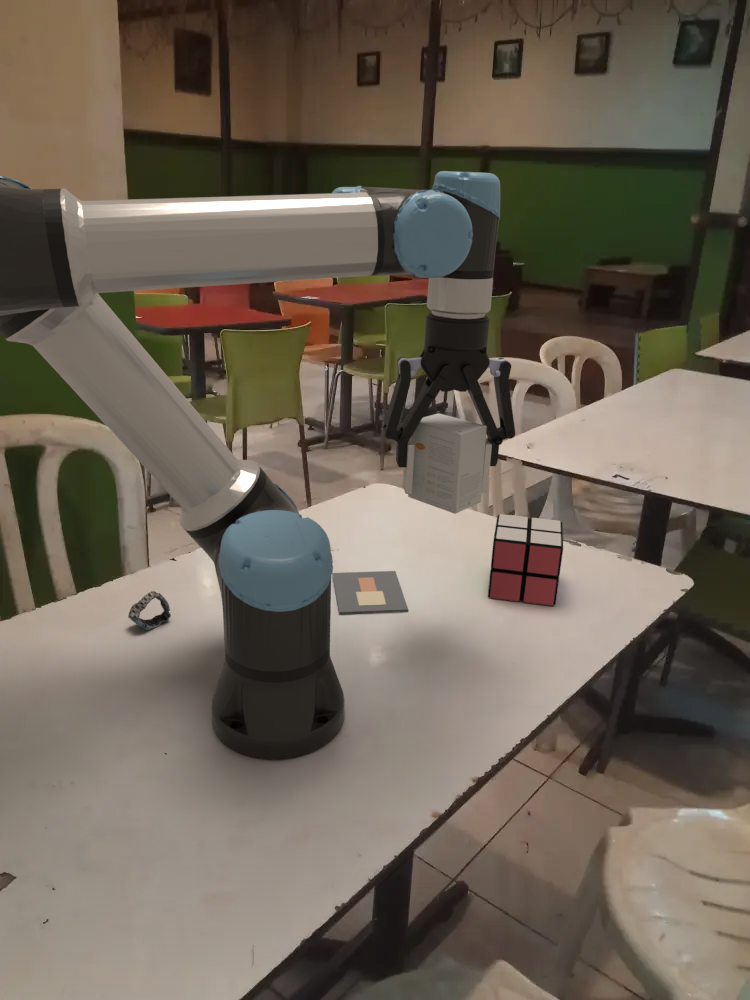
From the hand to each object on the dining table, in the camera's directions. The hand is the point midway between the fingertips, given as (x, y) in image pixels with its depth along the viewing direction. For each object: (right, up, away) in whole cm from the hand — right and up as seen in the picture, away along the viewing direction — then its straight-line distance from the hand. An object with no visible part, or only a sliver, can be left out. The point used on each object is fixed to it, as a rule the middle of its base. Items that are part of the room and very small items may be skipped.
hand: (444, 489), depth 101 cm
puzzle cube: (+14, -15, +20) cm, 29 cm away
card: (-10, -15, +17) cm, 25 cm away
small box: (0, -2, +1) cm, 2 cm away
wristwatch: (-40, -19, +7) cm, 45 cm away
